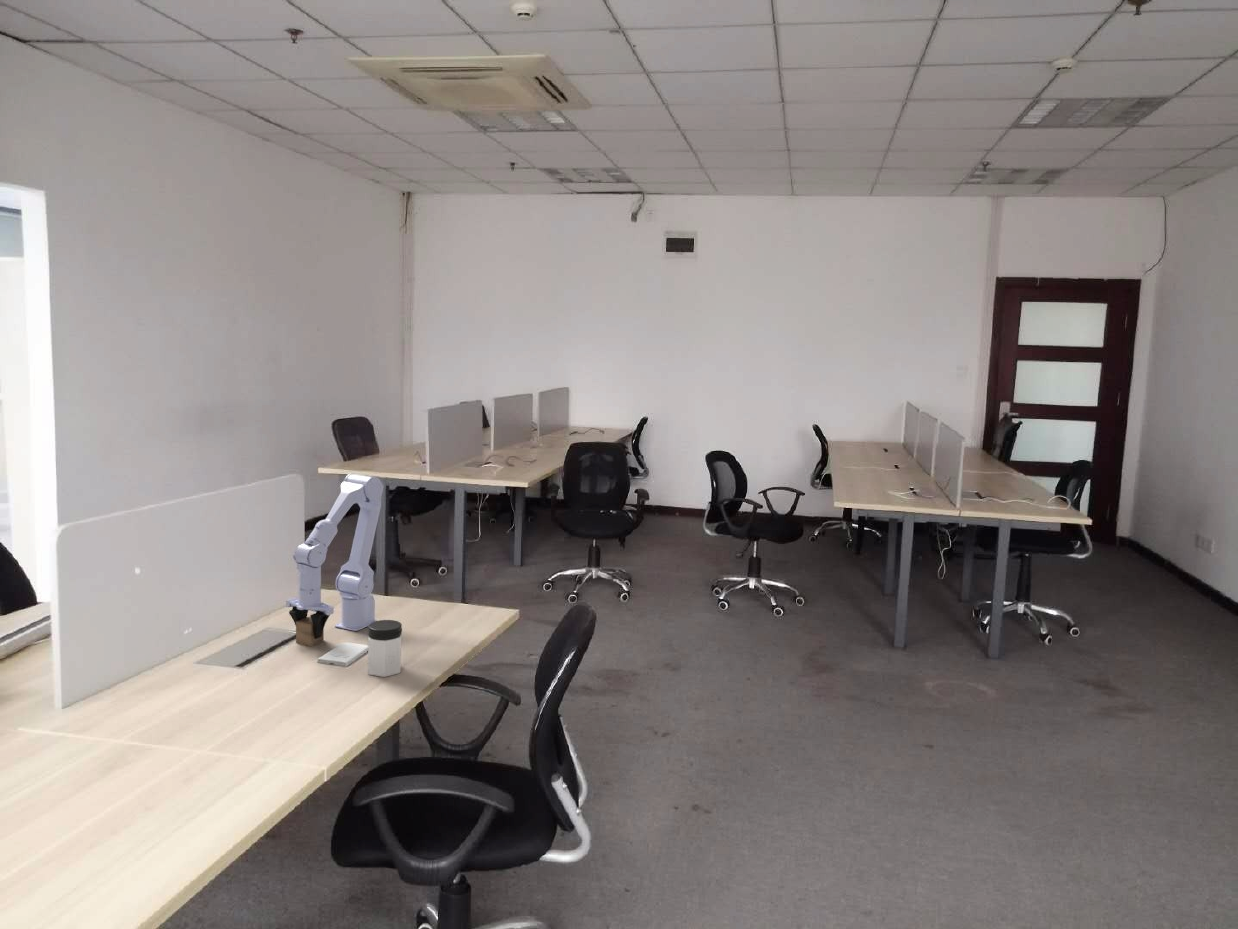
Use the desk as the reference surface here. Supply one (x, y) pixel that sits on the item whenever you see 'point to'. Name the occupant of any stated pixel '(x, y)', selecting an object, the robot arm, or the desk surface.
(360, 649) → the external hard drive
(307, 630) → the walnut block
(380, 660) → the jar
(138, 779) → the desk surface
